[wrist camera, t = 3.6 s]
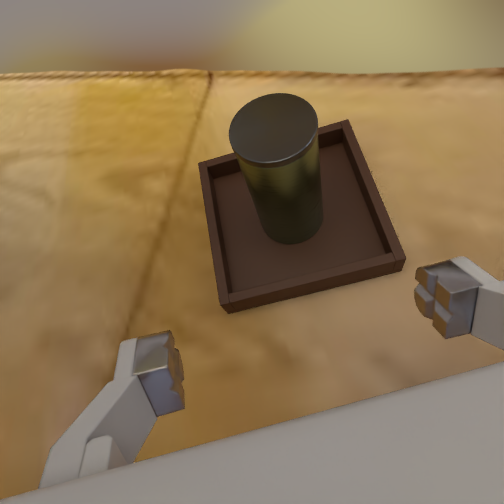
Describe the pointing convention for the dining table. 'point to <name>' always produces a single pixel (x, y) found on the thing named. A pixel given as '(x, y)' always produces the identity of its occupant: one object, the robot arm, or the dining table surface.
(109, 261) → the dining table surface
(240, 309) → the tray
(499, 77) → the dining table surface
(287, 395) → the dining table surface
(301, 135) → the tin canister
